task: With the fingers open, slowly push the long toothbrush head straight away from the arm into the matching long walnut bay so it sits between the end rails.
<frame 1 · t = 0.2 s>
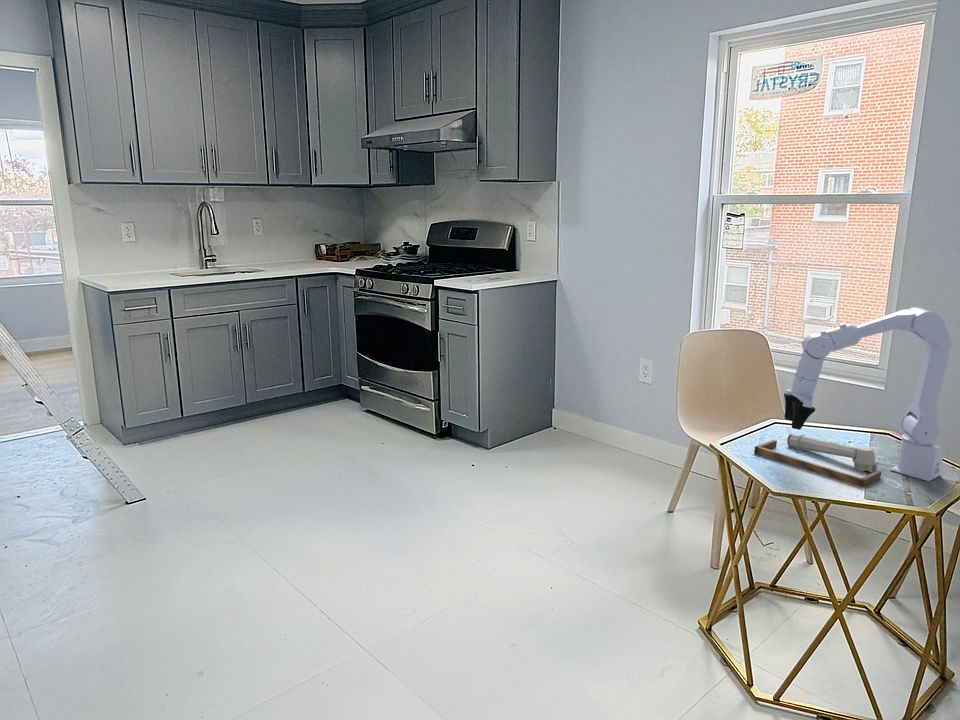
hand: (792, 424, 189), 11 cm above the table, tool pointing down, fingers open, 7 cm apart
walnut bay: (814, 465, 188), on the table
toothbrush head: (830, 460, 194), on the table
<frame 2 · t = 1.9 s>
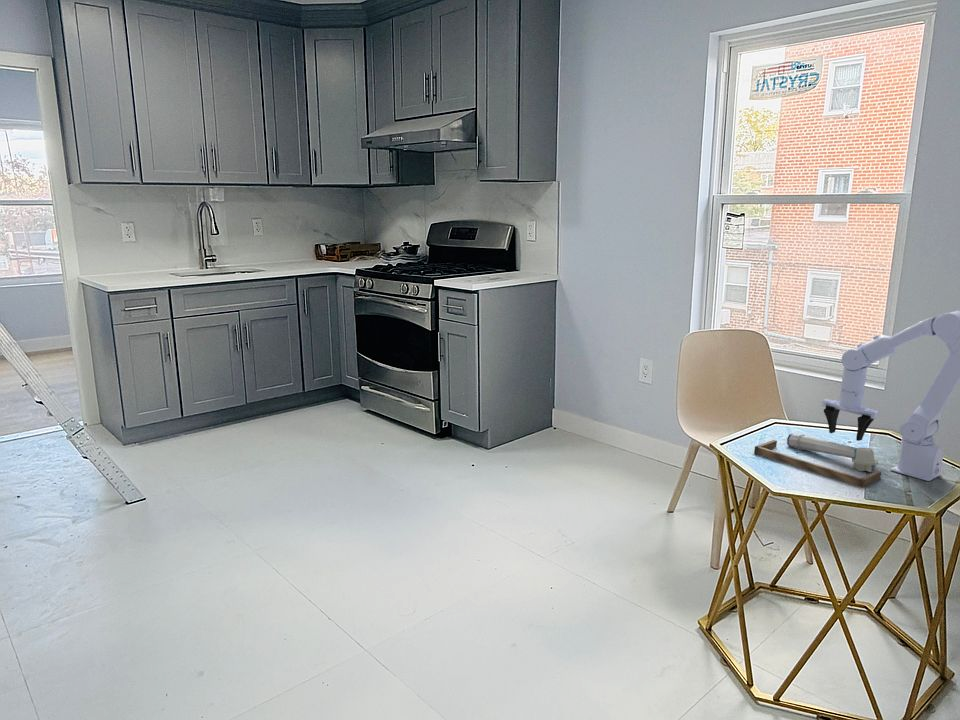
hand: (845, 436, 197), 5 cm above the table, tool pointing down, fingers open, 7 cm apart
nothing on the table moved.
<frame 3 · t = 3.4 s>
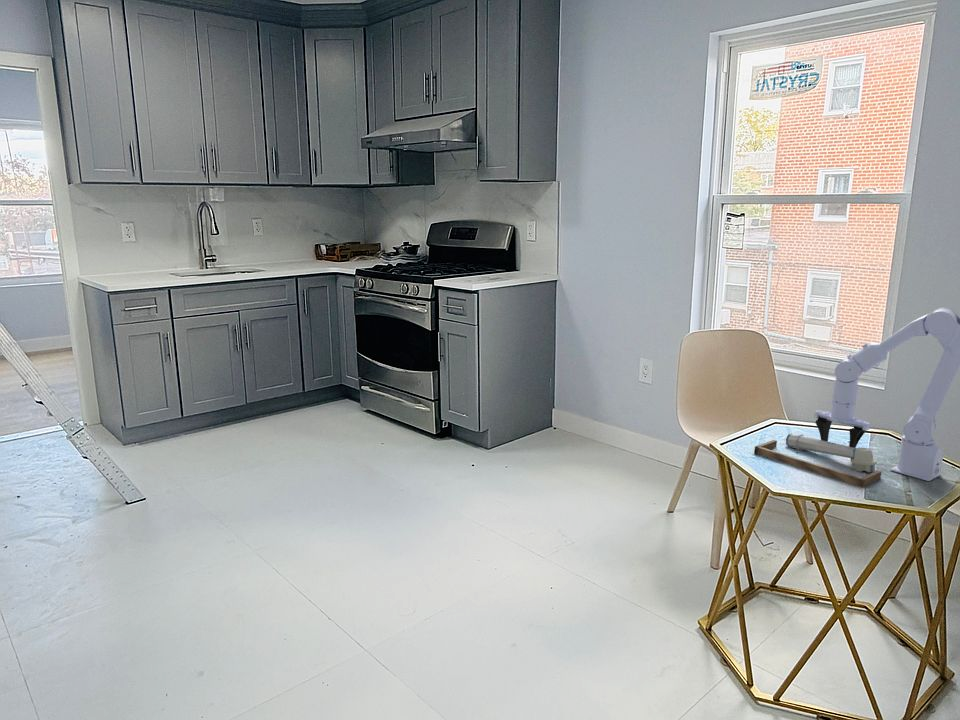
hand: (837, 447, 195), 2 cm above the table, tool pointing down, fingers open, 7 cm apart
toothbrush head: (828, 460, 194), on the table, touching gripper
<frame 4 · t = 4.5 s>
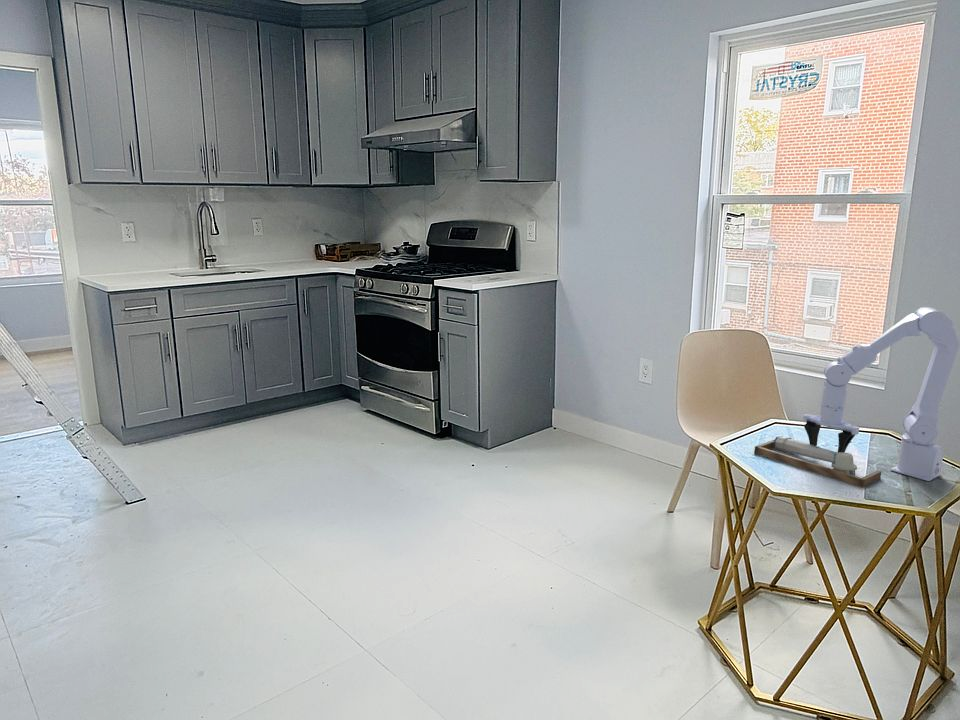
hand: (826, 452, 191), 2 cm above the table, tool pointing down, fingers open, 7 cm apart
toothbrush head: (812, 464, 191), on the table, touching gripper
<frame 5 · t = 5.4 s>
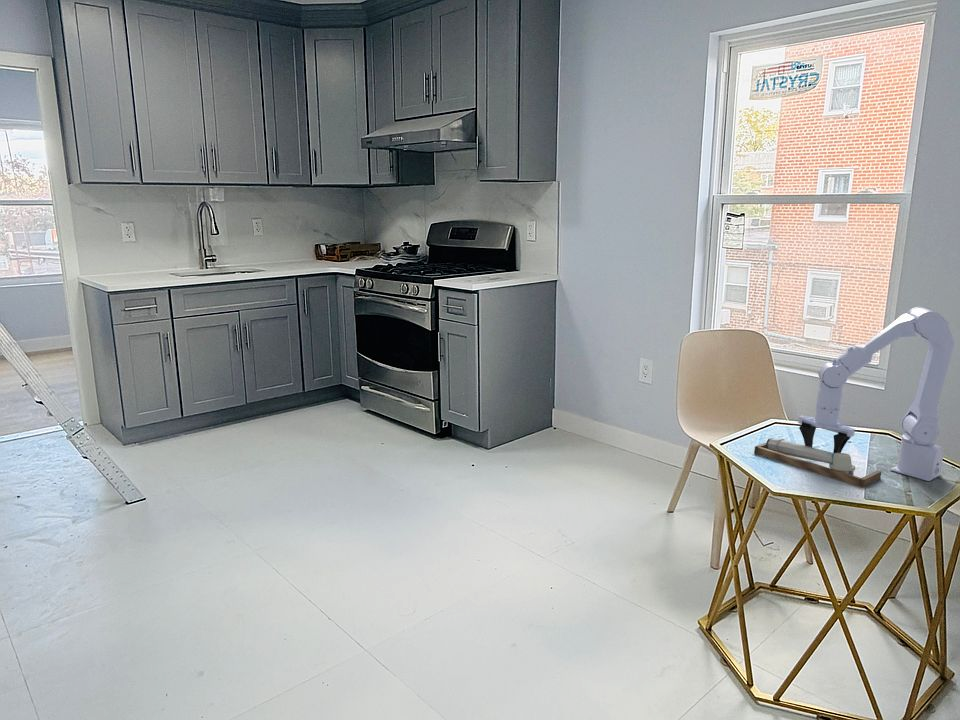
hand: (821, 454, 190), 2 cm above the table, tool pointing down, fingers open, 7 cm apart
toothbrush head: (808, 465, 189), on the table, touching gripper, walnut bay
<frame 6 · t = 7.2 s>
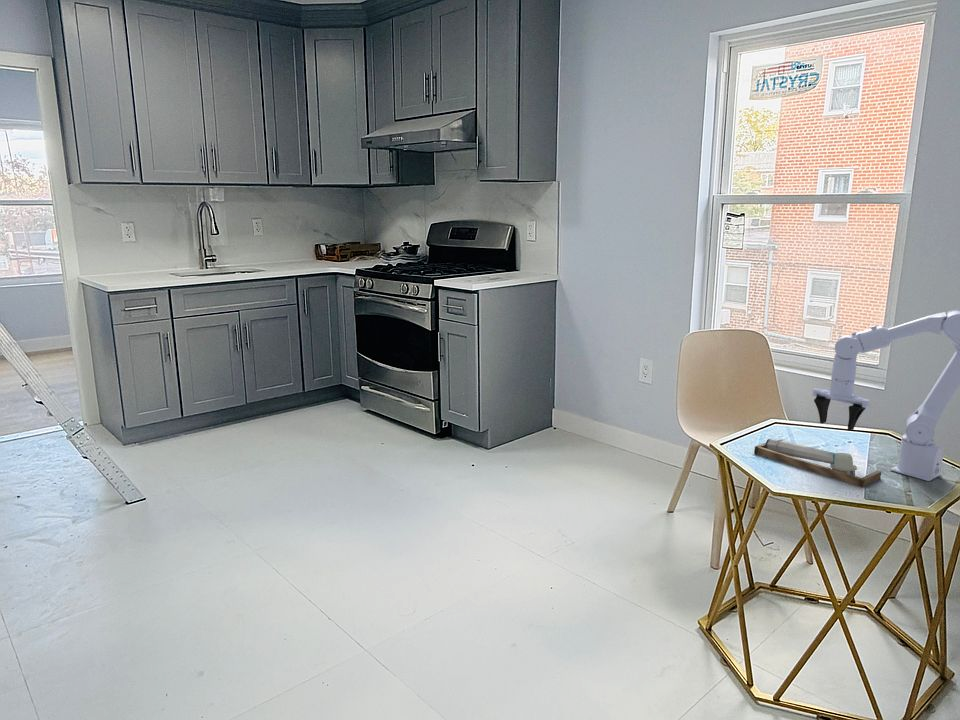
hand: (836, 426, 192), 9 cm above the table, tool pointing down, fingers open, 7 cm apart
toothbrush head: (808, 465, 189), on the table
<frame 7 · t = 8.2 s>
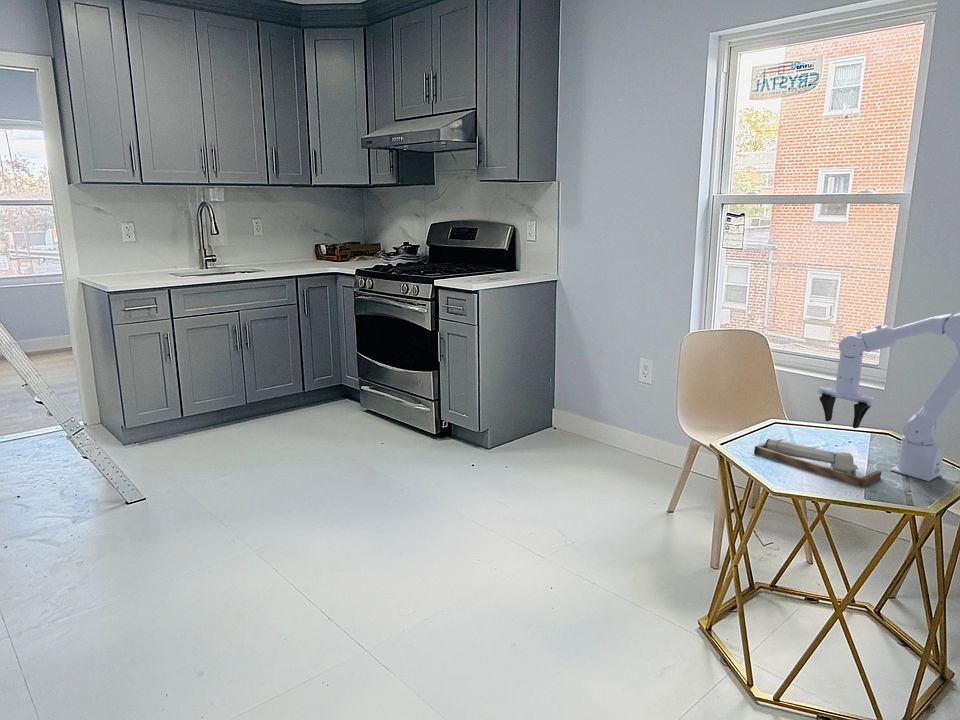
hand: (841, 424, 194), 9 cm above the table, tool pointing down, fingers open, 7 cm apart
nothing on the table moved.
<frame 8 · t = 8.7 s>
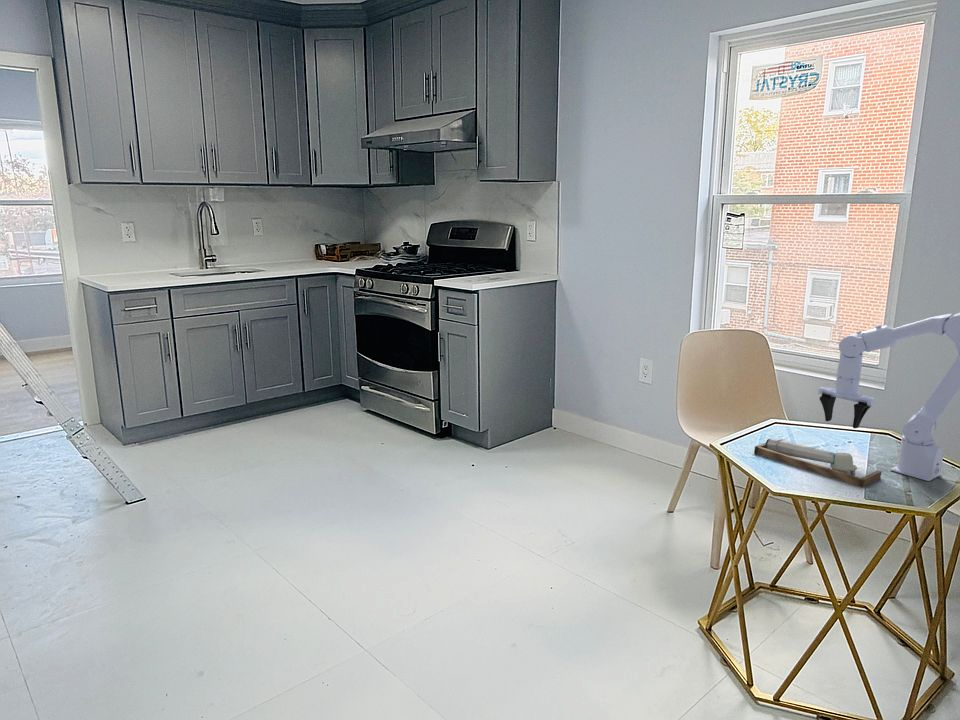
hand: (841, 424, 194), 9 cm above the table, tool pointing down, fingers open, 7 cm apart
nothing on the table moved.
at the end: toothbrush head 1.6 cm off-centre on the walnut bay, point -0.5 cm above the walnut bay's base; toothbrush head moved 9.2 cm from its start; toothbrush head tilted 2° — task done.
